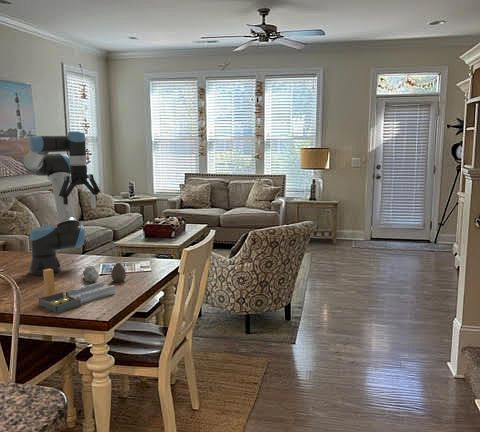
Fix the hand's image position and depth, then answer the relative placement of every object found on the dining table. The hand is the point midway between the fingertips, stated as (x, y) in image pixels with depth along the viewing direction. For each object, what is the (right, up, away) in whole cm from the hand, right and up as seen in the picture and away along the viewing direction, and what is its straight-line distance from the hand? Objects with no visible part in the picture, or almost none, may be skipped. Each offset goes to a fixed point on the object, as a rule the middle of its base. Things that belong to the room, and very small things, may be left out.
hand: (81, 209), depth 224 cm
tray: (+1, -40, -29) cm, 49 cm away
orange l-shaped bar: (-6, -39, -20) cm, 44 cm away
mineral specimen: (+3, -35, +6) cm, 35 cm away
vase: (+17, -35, +4) cm, 39 cm away
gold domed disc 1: (-1, -40, -30) cm, 50 cm away
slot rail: (+10, -38, -18) cm, 43 cm away
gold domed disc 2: (+2, -40, -28) cm, 48 cm away
